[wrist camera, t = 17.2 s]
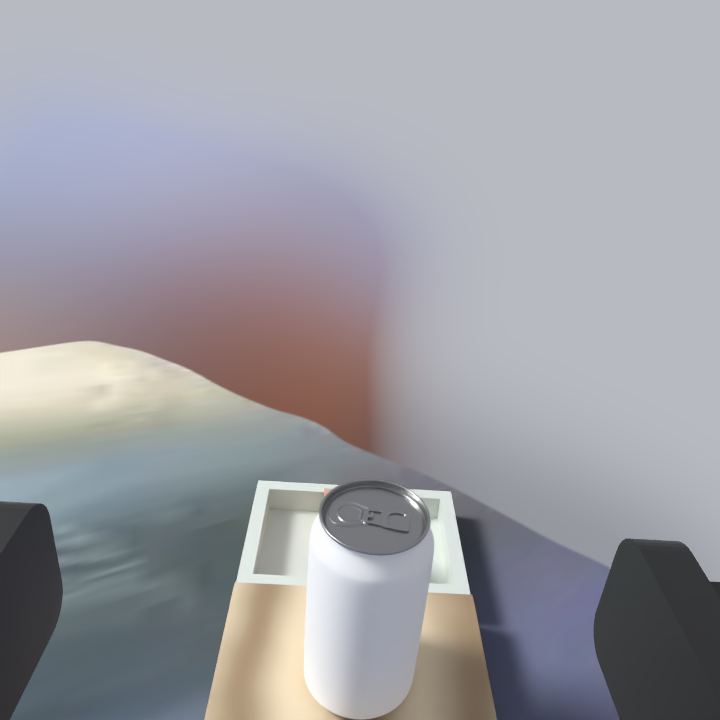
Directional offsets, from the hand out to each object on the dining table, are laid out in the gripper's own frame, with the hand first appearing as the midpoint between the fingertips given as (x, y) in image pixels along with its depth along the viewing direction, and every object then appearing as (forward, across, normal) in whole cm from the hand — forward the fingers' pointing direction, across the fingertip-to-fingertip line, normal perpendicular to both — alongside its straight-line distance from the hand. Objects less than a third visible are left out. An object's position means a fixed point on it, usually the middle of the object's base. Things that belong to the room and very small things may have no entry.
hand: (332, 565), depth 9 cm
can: (+19, -2, +27) cm, 33 cm away
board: (+19, -2, +30) cm, 36 cm away
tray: (+31, -2, +30) cm, 43 cm away
